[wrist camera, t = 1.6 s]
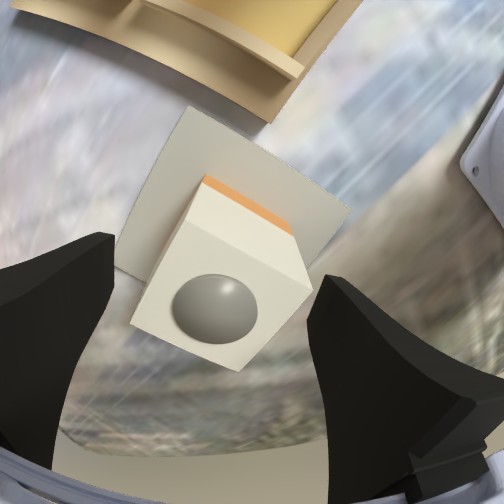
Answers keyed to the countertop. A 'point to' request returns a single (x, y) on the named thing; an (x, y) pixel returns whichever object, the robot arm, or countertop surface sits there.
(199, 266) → the cube with grey knob
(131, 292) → the countertop surface
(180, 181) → the mat
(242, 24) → the socket block
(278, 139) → the countertop surface
